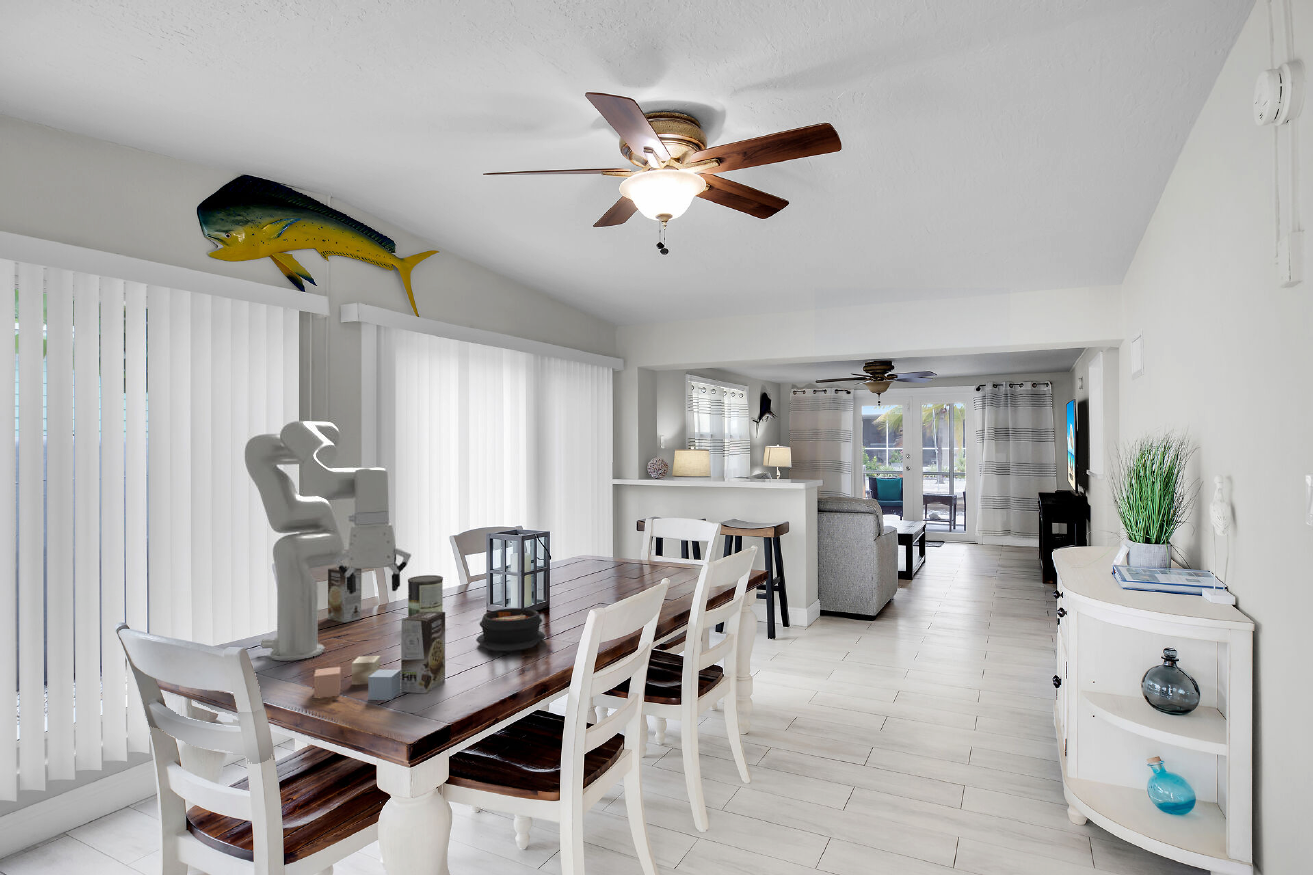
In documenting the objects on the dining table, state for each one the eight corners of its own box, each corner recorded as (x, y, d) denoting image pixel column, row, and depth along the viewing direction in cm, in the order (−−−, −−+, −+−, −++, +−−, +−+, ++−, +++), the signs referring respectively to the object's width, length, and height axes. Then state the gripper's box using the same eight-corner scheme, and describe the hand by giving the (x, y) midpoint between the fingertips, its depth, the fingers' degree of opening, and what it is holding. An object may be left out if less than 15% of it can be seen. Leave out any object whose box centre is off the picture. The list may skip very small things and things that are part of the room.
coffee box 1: (326, 619, 222) (326, 568, 223) (344, 615, 228) (344, 565, 228) (344, 623, 218) (344, 571, 218) (362, 618, 223) (362, 567, 223)
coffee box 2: (426, 694, 155) (426, 620, 155) (399, 692, 156) (399, 619, 156) (446, 680, 163) (446, 611, 164) (421, 678, 165) (421, 609, 165)
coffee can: (402, 628, 211) (402, 581, 211) (415, 619, 221) (415, 574, 221) (436, 628, 210) (436, 581, 211) (447, 620, 221) (447, 575, 221)
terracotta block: (314, 699, 152) (314, 676, 152) (315, 691, 157) (315, 669, 157) (339, 696, 154) (339, 673, 154) (340, 688, 158) (340, 666, 158)
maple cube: (351, 684, 161) (351, 663, 161) (358, 677, 166) (358, 656, 166) (374, 683, 162) (374, 662, 162) (380, 676, 167) (380, 655, 167)
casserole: (477, 634, 204) (477, 605, 204) (542, 630, 208) (542, 602, 208) (474, 660, 179) (474, 627, 179) (548, 655, 183) (548, 623, 183)
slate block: (368, 700, 151) (368, 676, 151) (378, 691, 156) (378, 669, 156) (391, 700, 151) (391, 676, 151) (400, 692, 156) (400, 669, 156)
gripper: (329, 522, 163) (330, 596, 162) (406, 518, 166) (408, 591, 165) (338, 520, 170) (340, 591, 170) (412, 516, 173) (414, 586, 172)
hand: (373, 591), depth 167 cm, fingers open, 9 cm apart
